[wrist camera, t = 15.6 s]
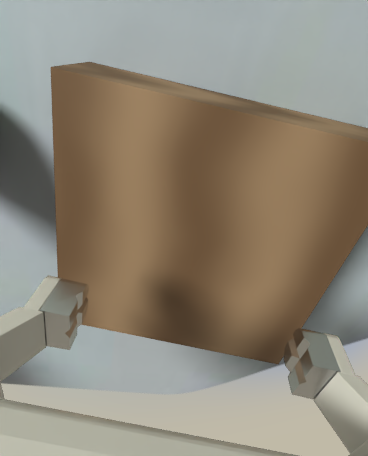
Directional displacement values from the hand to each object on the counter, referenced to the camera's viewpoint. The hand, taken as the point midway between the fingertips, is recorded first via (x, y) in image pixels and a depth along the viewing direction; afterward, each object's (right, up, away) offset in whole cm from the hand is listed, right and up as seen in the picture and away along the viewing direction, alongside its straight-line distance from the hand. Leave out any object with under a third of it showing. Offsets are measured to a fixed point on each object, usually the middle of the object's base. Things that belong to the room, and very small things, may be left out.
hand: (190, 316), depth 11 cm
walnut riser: (+1, +4, +7) cm, 8 cm away
